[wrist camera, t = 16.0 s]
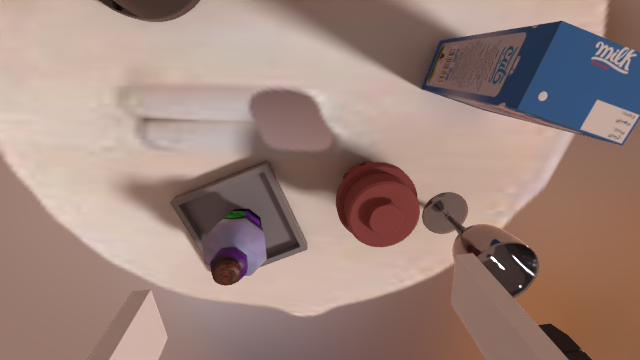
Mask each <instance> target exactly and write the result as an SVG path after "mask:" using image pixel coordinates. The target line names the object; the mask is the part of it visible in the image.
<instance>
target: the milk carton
mask: <svg viewBox="0 0 640 360" xmlns="http://www.w3.org/2000/svg"><path fill="white" fill-rule="evenodd" d="M421 89H423V90H426V91H429V92H432V93H435V94H438V95H440V96H443V97H446V98H449V99H452V100H455V101H458V102H461V103H464V104H467V105H470V106H473V107H476V108H479V109H482V110H485V111H489V112H493V113H497V114H501V115H505V116H509V117H512V118H516V119H520V120H524V121H528V122H532V123H536V124H540V125H544V126H548V127H552V128H556V129H560V130H564V131H568V132H572V133H576V134H580V135H583V136H587V137H591V138H595V139H599V140H603V141H607V142H611V143H615V144H619V145H623V144H624V142H625V141H626V139H627V137H628V136H629V134H630V133H631V131H632V130H633V128H634V127H635V125H636V123H637V122H638V120H639V119H640V53H639V52H637V51H634V50H632V49H630V48H627V47H625V46H622V45H620V44H617V43H615V42H613V41H610V40H608V39H605V38H603V37H600V36H598V35H595V34H593V33H591V32H588V31H586V30H583V29H581V28H578V27H576V26H573V25H571V24H569V23H566V22H564V21H559V22H553V23H547V24H540V25H534V26H528V27H522V28H516V29H509V30H503V31H497V32H491V33H485V34H479V35H472V36H466V37H460V38H454V39H448V40H441V41H440V43H439V45H438V48H437V50H436V53H435V55H434V58H433V60H432V63H431V65H430V68H429V70H428V73H427V75H426V78H425V80H424V83H423V85H422V88H421Z"/></svg>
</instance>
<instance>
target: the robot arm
mask: <svg viewBox="0 0 640 360" xmlns="http://www.w3.org/2000/svg"><path fill="white" fill-rule="evenodd" d="M99 1H100V2H102V3H103V4H104V5H106V6H108V7H109V8H111V9H112V10H114V11H116V12H118V13H121V14H123V15H126V16H128V17H132V18H135V19H139V20H143V21H149V22H163V21H169V20H173V19H176V18H178V17H180V16H182V15H184V14H186V13H187V12H189V11H190V10H191V9H192V8H194V7H195V6H196V5H197V3H198V2H199V1H200V0H99ZM451 305H452V307H453V308H454V310H455V311H456V313H457V315H458V316H459V317H460V319H461V321H462V322H463V324H464V326H465V327H466V329H467V330H468V332H469V334H470V335H471V337H472V338H473V340H474V341H475V343H476V345H477V346H478V348H479V349H480V351H481V353H482V354H483V356H484V357H485V359H486V360H592V359H590V357H589V356H587V354H586V353H585V352H582V349H581V348H580V347H579V346H578V345H577V344H576V343H575V342H574V341H573V340H572V339H571V338H570V337H569V336H568V335H567V334H565V333H564V332H562V331H561V330H559V329H558V328H556V327H555V326H553V325H552V324H544V325H537V324H536V323H535V322H534V321H533V319H532V318H531V317H530V316H529V315H528V314H527V313H526V312H525V311H524V310H523V308H522V307H521V306H520V305H519V304H518V303H517V302H516V301H515V299H514V298H513V297H512V296H511V295H510V294H509V293H508V292H507V290H506V289H505V288H504V287H503V286H502V285H501V284H500V283H499V282H498V280H497V279H496V278H495V277H494V276H493V275H492V274H491V273H490V272H489V270H488V269H487V268H486V267H485V266H484V265H483V264H482V263H481V262H480V260H479V259H478V258H477V257H476V256H475V255H474V254H473V253H470V254H461V255H456V259H455V269H454V277H453V286H452V296H451ZM167 338H168V337H167V334H166V331H165V329H164V326H163V323H162V320H161V317H160V314H159V312H158V309H157V306H156V303H155V300H154V298H153V294H152V292H151V290H143V291H133V292H132V293H131V294H130V296H129V297H128V299H127V300H126V302H125V303H124V305H123V306H122V308H121V309H120V311H119V312H118V314H117V315H116V317H115V318H114V320H113V321H112V323H111V324H110V326H109V327H108V329H107V330H106V332H105V333H104V335H103V336H102V338H101V339H100V341H99V342H98V344H97V345H96V347H95V348H94V350H93V351H92V353H91V354H90V356H89V357H88V359H87V360H158V359H159V357H160V354H161V352H162V350H163V347H164V345H165V343H166V340H167Z"/></svg>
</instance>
